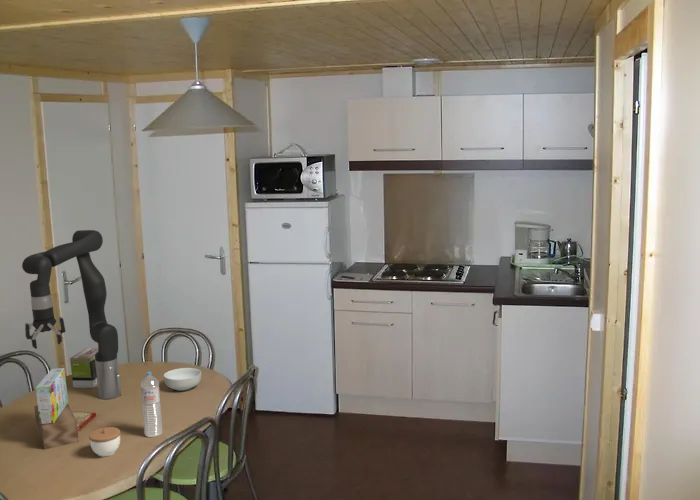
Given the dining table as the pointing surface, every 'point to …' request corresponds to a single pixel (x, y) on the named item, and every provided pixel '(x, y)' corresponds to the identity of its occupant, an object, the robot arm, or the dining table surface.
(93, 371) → the tea box
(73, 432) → the walnut stand
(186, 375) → the cereal bowl
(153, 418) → the water bottle
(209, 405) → the dining table surface
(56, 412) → the snack box
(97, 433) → the lidded jar
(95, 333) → the robot arm
